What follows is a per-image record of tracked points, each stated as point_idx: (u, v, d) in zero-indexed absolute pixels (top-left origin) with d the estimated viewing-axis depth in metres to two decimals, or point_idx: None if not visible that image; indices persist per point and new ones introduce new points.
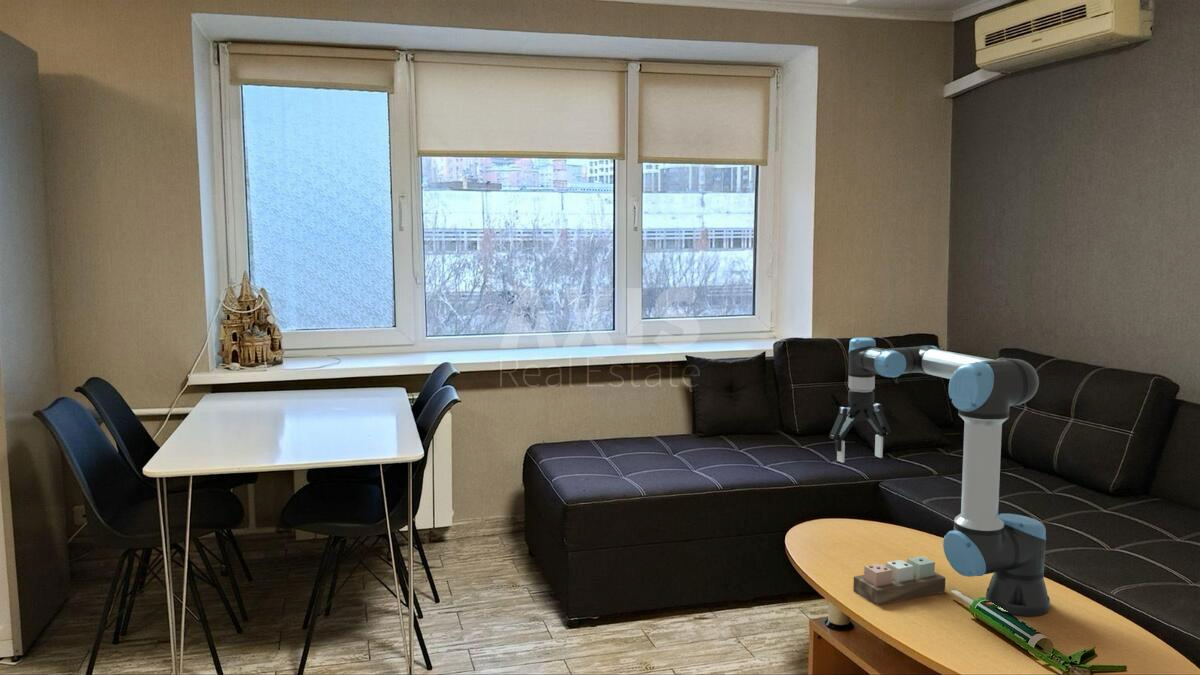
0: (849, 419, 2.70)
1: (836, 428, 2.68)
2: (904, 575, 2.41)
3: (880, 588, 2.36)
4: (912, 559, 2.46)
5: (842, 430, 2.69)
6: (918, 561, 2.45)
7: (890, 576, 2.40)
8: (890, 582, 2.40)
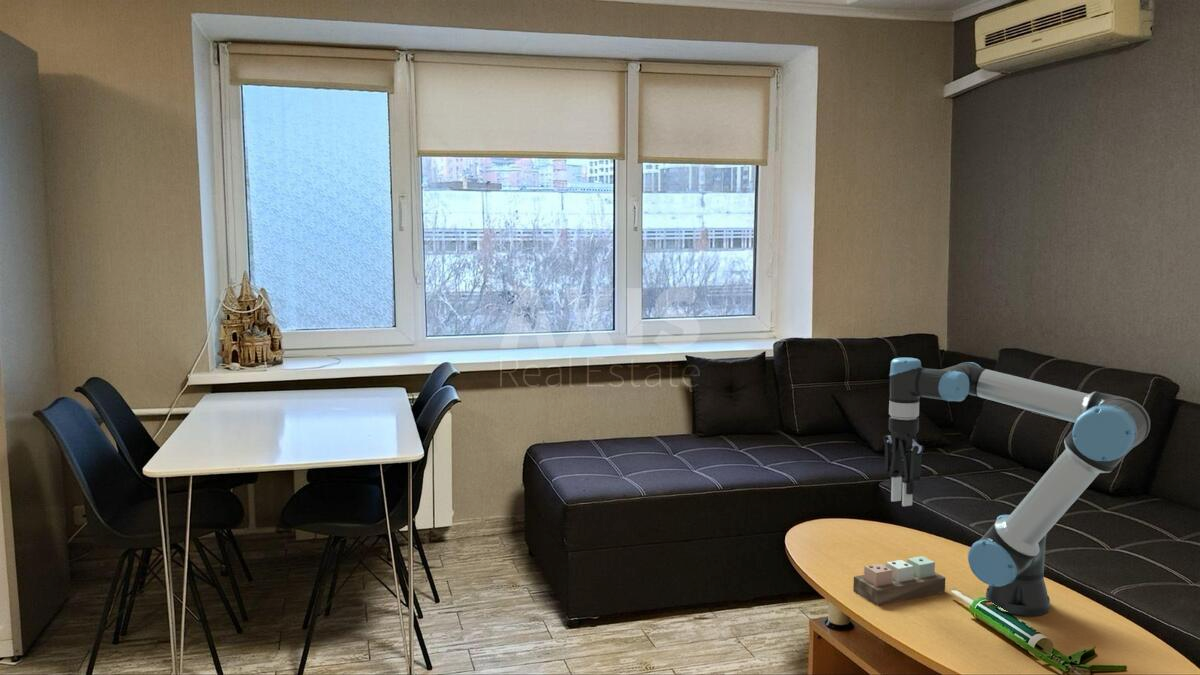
0: None
1: None
2: (904, 575, 2.41)
3: (880, 588, 2.36)
4: (912, 559, 2.46)
5: None
6: (918, 561, 2.45)
7: (890, 576, 2.40)
8: (890, 582, 2.40)
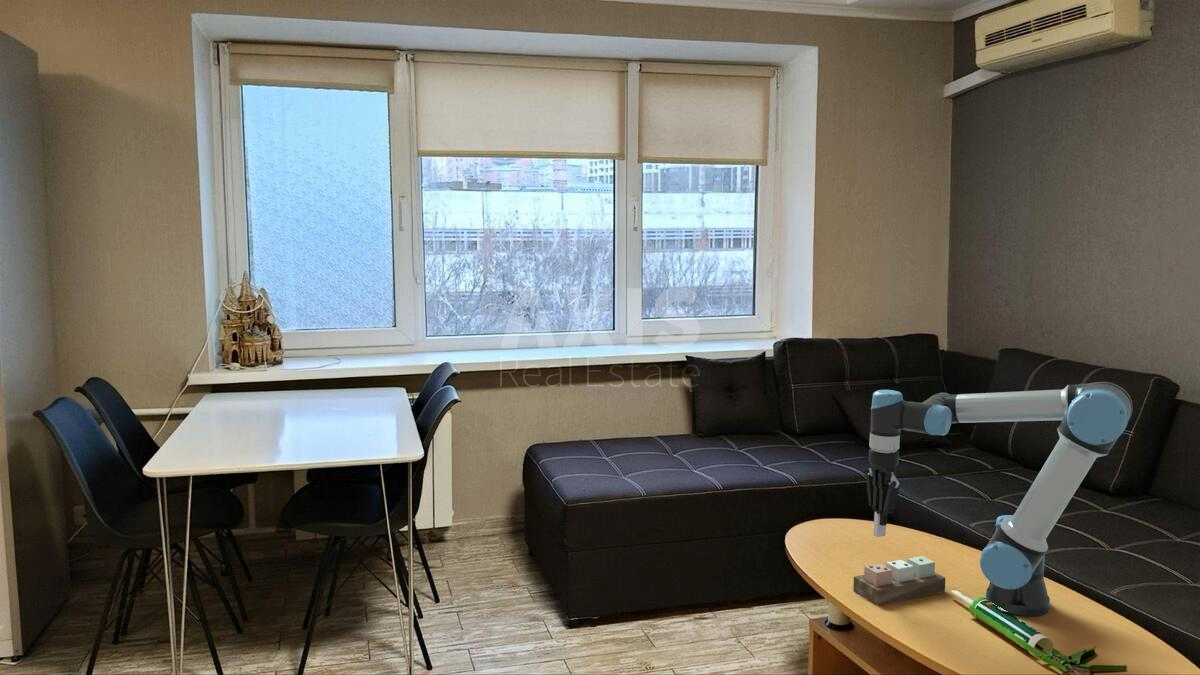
0: None
1: None
2: (904, 575, 2.41)
3: (880, 588, 2.36)
4: (912, 559, 2.46)
5: None
6: (918, 561, 2.45)
7: (890, 576, 2.40)
8: (890, 582, 2.40)
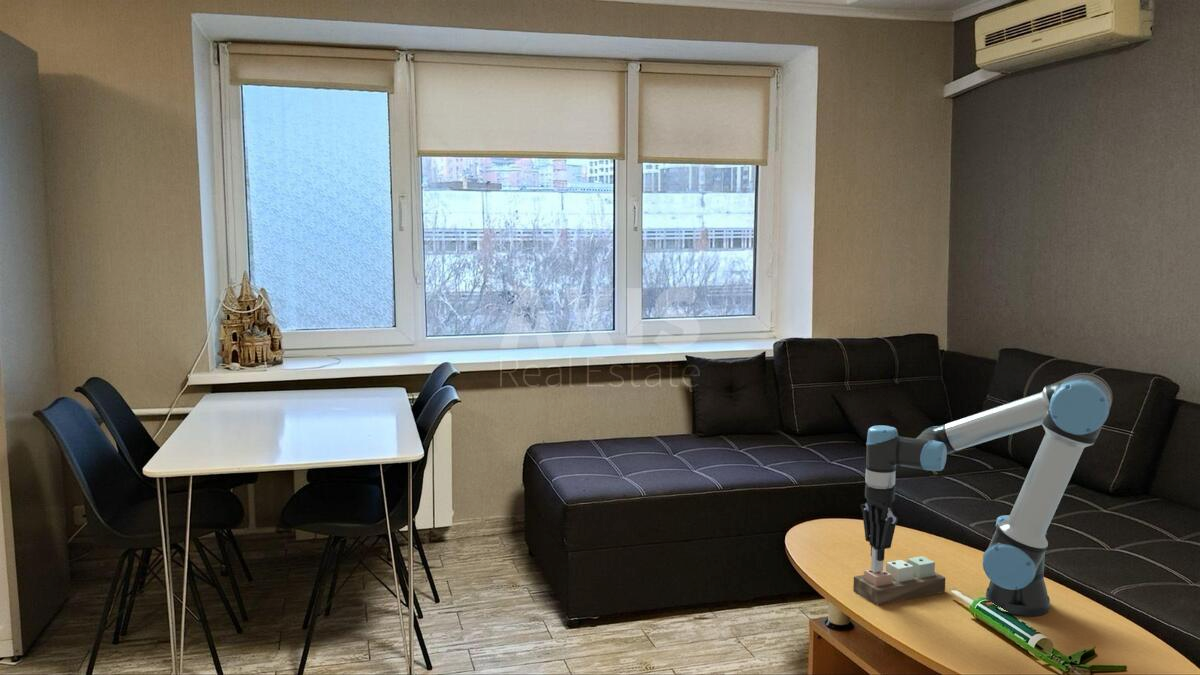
0: None
1: None
2: (904, 575, 2.41)
3: (880, 588, 2.36)
4: (912, 559, 2.46)
5: None
6: (918, 561, 2.45)
7: (890, 580, 2.40)
8: None
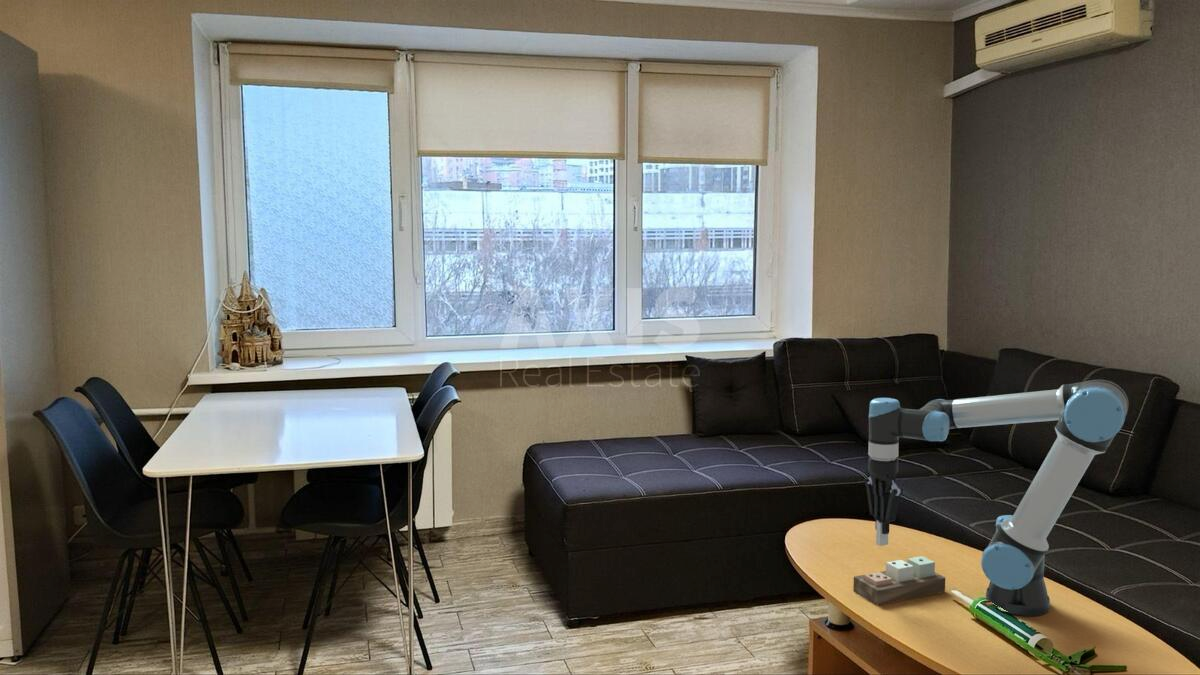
0: None
1: None
2: (904, 575, 2.41)
3: (880, 588, 2.36)
4: (912, 559, 2.46)
5: None
6: (918, 561, 2.45)
7: None
8: None
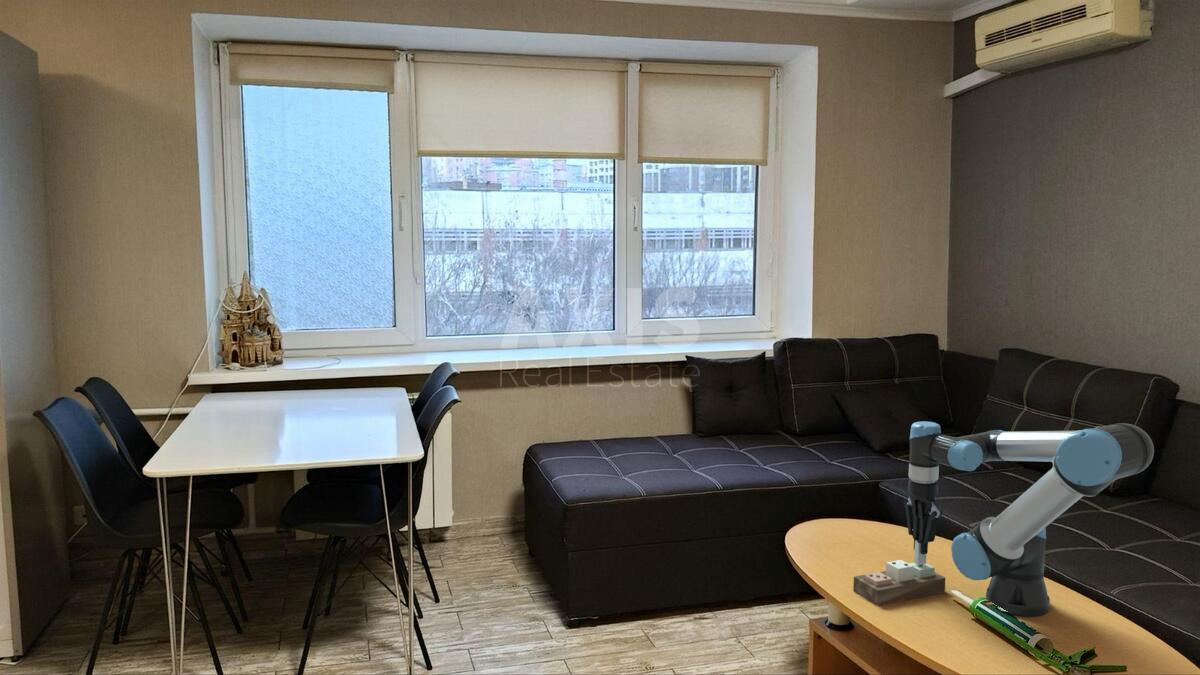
0: None
1: None
2: (904, 575, 2.41)
3: (880, 588, 2.36)
4: (912, 565, 2.47)
5: None
6: (918, 566, 2.45)
7: None
8: None
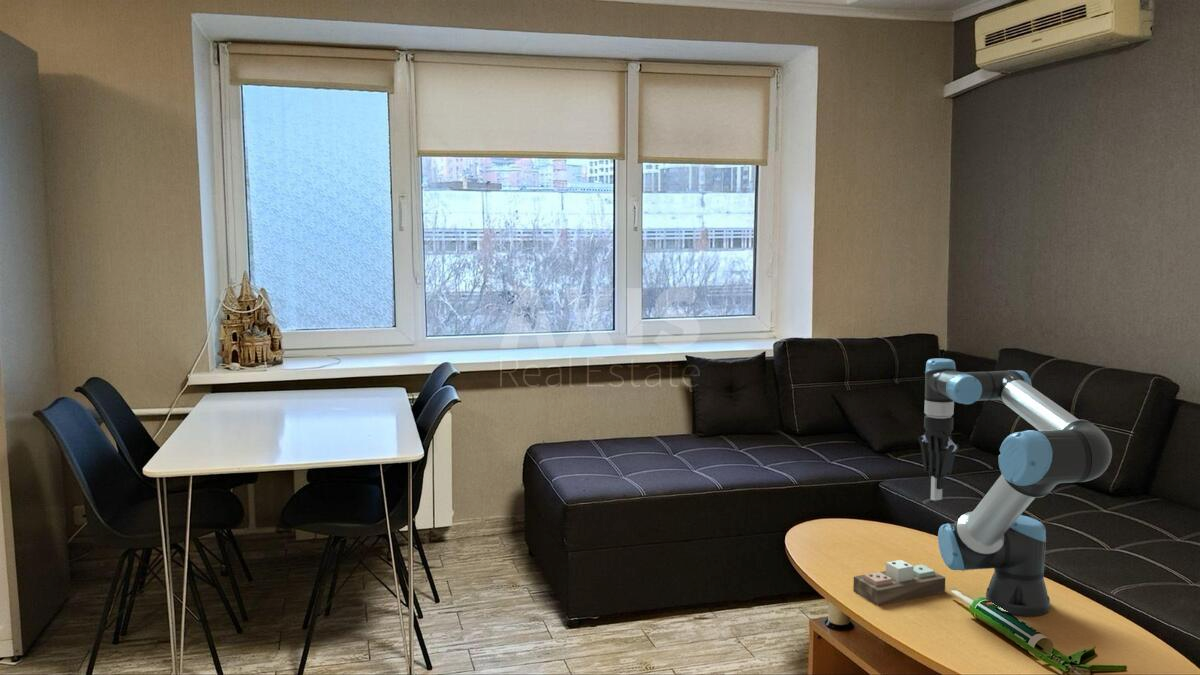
0: None
1: None
2: (904, 575, 2.41)
3: (880, 588, 2.36)
4: None
5: None
6: (918, 569, 2.46)
7: None
8: None
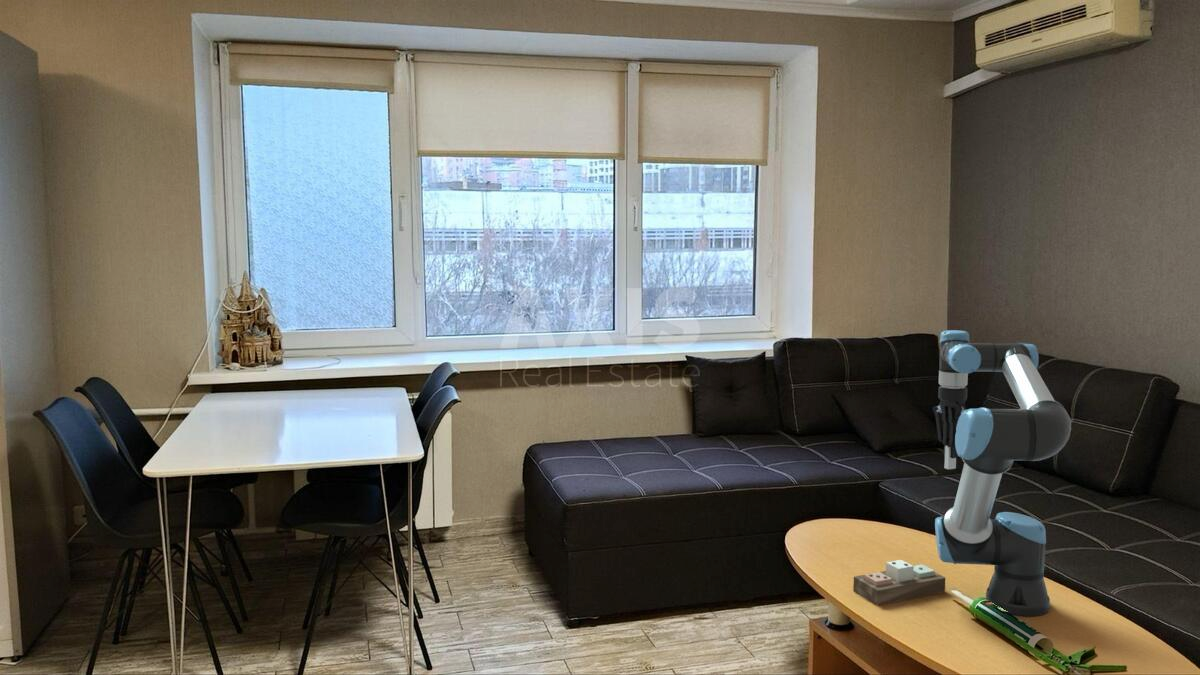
0: None
1: None
2: (904, 575, 2.41)
3: (880, 588, 2.36)
4: None
5: None
6: (918, 569, 2.46)
7: None
8: None
